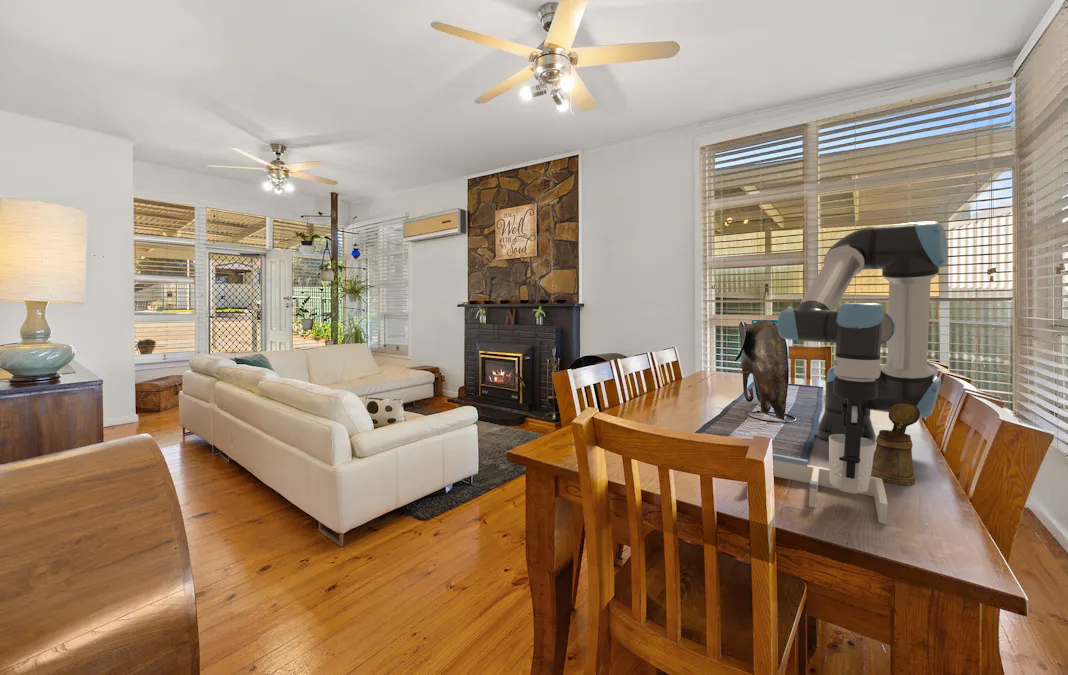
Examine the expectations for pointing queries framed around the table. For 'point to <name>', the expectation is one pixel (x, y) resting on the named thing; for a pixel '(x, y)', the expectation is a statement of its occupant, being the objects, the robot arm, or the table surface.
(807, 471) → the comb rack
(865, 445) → the white cup
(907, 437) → the wooden mug
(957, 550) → the table surface
